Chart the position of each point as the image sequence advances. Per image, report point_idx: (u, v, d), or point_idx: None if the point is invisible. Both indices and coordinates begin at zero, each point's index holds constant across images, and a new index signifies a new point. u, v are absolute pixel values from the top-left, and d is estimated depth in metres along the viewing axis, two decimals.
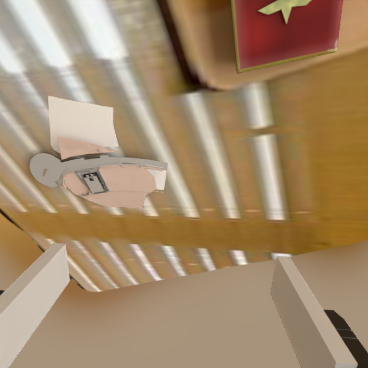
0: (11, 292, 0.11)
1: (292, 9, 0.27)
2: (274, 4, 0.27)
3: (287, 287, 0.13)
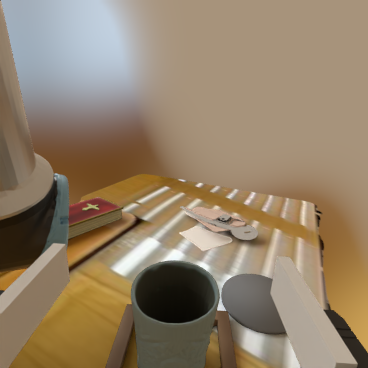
0: (11, 292, 0.11)
1: None
2: (94, 207, 0.68)
3: (287, 287, 0.13)
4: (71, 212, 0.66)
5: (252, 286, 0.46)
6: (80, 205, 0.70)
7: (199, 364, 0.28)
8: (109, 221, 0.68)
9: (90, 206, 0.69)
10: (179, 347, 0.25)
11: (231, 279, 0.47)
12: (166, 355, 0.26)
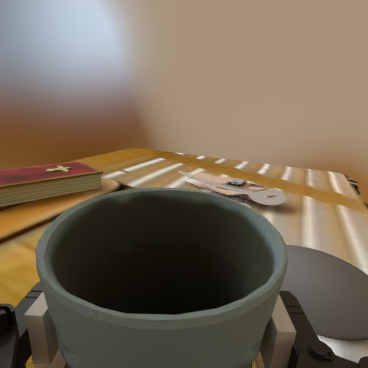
0: None
1: (64, 168, 0.52)
2: (63, 169, 0.50)
3: None
4: (30, 172, 0.48)
5: (295, 261, 0.28)
6: (49, 166, 0.53)
7: None
8: (81, 189, 0.49)
9: (59, 168, 0.51)
10: None
11: None
12: None
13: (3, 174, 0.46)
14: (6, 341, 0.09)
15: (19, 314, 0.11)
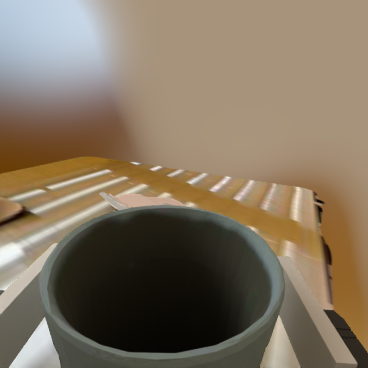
0: (11, 292, 0.11)
1: None
2: None
3: (287, 287, 0.13)
4: None
5: None
6: None
7: None
8: None
9: None
10: None
11: None
12: None
13: None
14: None
15: None
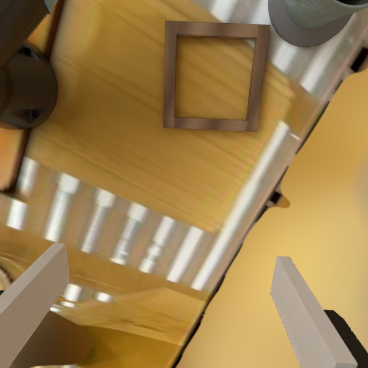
0: (11, 292, 0.11)
1: None
2: None
3: (287, 287, 0.13)
4: None
5: None
6: None
7: None
8: None
9: None
10: (346, 14, 0.30)
11: None
12: (329, 16, 0.32)
13: None
14: None
15: None
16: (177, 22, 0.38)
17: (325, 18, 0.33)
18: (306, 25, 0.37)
